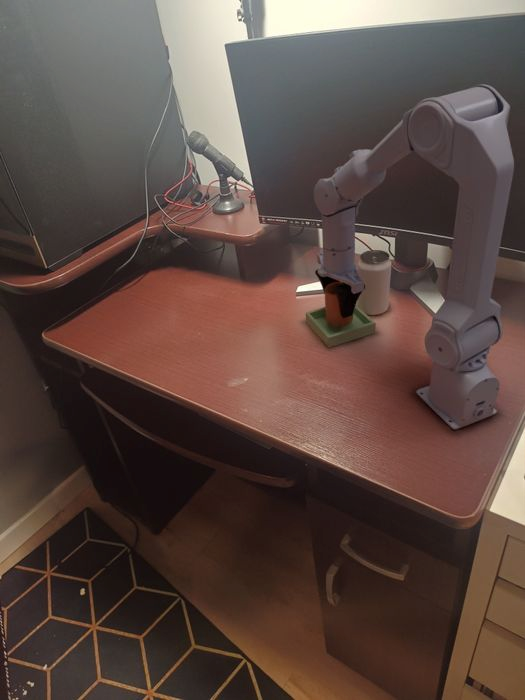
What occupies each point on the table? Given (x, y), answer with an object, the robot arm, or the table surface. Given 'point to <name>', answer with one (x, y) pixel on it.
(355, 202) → the robot arm
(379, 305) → the can
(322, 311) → the tray
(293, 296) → the table surface
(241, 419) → the table surface
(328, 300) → the cup
